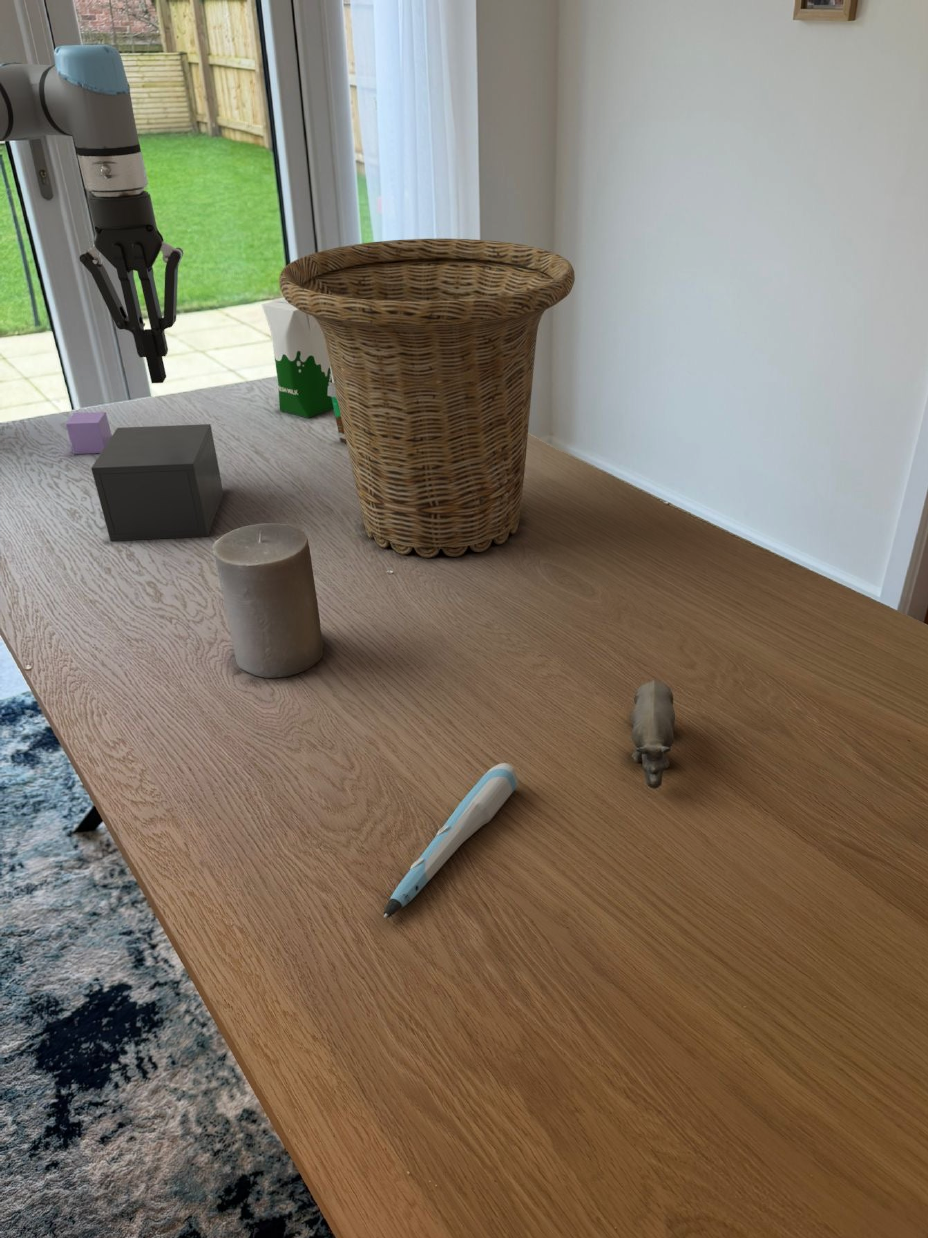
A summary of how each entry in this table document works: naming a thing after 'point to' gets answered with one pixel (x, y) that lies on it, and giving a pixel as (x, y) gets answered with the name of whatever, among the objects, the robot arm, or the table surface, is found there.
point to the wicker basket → (433, 378)
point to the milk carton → (299, 359)
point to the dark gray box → (159, 482)
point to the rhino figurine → (653, 729)
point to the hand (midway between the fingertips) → (159, 379)
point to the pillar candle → (270, 599)
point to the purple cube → (88, 432)
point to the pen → (456, 831)
